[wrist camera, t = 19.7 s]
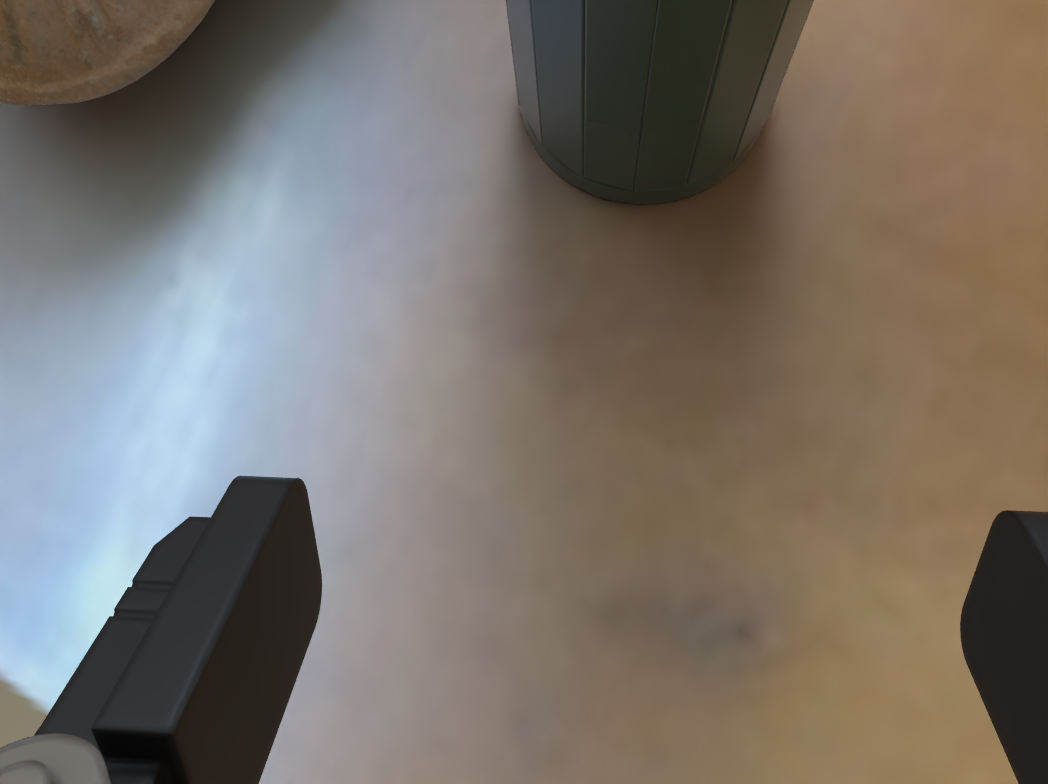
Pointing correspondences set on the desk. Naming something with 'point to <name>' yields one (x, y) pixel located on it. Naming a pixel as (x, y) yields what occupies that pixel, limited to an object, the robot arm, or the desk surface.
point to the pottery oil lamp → (87, 45)
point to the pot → (649, 88)
